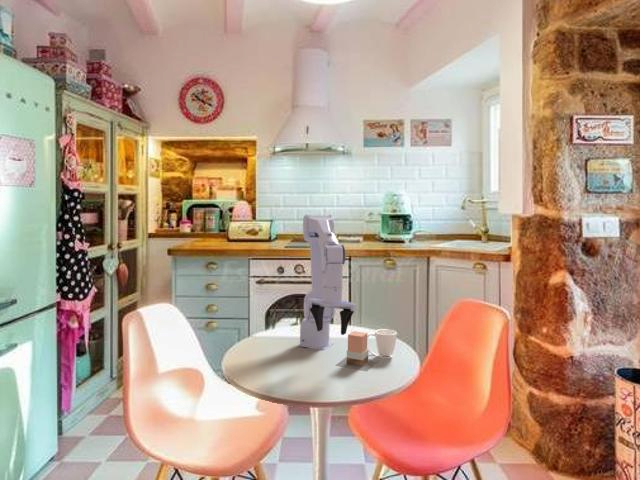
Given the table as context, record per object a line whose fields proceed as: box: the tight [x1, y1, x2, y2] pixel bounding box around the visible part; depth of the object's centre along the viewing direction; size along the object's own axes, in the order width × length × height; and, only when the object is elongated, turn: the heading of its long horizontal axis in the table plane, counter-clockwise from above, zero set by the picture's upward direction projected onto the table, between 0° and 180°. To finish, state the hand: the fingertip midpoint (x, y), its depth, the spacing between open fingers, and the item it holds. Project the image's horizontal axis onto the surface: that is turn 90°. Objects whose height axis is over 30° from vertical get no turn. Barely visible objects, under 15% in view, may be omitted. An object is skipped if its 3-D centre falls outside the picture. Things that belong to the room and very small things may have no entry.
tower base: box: [346, 355, 369, 367], centre depth 143 cm, size 5×5×2 cm
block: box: [347, 330, 369, 353], centre depth 142 cm, size 4×4×5 cm
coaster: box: [335, 356, 379, 372], centre depth 143 cm, size 10×10×1 cm
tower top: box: [346, 349, 369, 360], centre depth 143 cm, size 5×5×2 cm
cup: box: [367, 328, 398, 359], centre depth 150 cm, size 7×10×8 cm
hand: (331, 332), depth 139 cm, fingers open, 7 cm apart
